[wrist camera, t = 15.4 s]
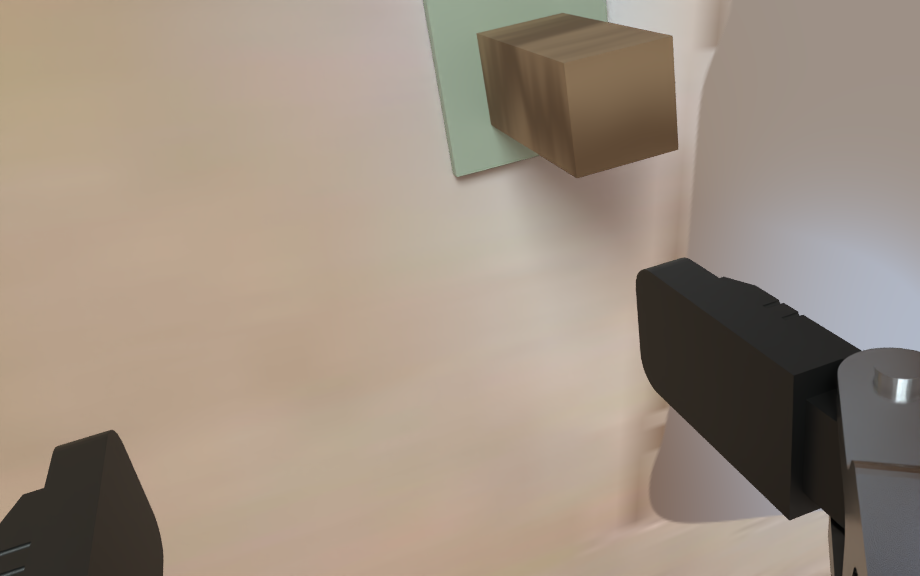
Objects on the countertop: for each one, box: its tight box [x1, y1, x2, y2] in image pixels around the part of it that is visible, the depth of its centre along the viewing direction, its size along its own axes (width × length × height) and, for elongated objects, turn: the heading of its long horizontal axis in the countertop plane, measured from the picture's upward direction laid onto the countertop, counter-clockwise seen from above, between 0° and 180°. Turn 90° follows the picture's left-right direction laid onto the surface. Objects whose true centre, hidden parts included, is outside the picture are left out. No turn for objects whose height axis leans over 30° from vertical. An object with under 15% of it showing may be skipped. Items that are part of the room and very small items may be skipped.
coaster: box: [423, 0, 608, 177], centre depth 40 cm, size 9×9×1 cm
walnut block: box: [476, 13, 678, 178], centre depth 35 cm, size 4×4×10 cm
